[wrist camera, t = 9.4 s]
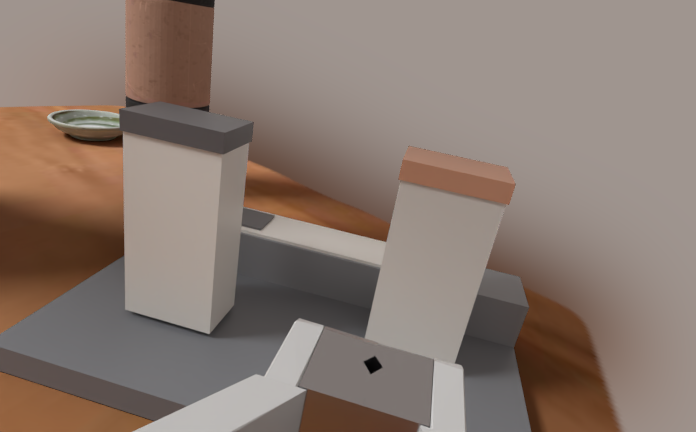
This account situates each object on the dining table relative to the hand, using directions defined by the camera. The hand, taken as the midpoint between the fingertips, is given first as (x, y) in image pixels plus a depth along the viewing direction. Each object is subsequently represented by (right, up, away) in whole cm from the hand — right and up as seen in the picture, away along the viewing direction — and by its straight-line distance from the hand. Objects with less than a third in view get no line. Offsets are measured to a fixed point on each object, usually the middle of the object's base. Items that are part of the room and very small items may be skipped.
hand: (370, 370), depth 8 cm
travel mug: (-19, +6, +40) cm, 45 cm away
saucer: (-33, +13, +50) cm, 62 cm away
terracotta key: (+3, -5, +18) cm, 19 cm away
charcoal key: (-10, -2, +18) cm, 21 cm away
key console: (-3, -5, +20) cm, 20 cm away
